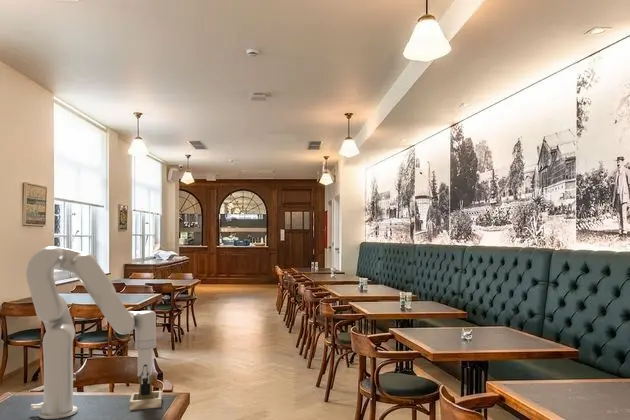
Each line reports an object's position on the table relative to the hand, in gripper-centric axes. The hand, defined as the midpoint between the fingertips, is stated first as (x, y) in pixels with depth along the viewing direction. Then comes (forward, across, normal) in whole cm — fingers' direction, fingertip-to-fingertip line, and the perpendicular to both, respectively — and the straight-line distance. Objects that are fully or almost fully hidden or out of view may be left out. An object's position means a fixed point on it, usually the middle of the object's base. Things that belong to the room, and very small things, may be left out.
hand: (145, 392), depth 206 cm
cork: (+5, 0, 0) cm, 5 cm away
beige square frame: (+4, 0, 0) cm, 4 cm away
